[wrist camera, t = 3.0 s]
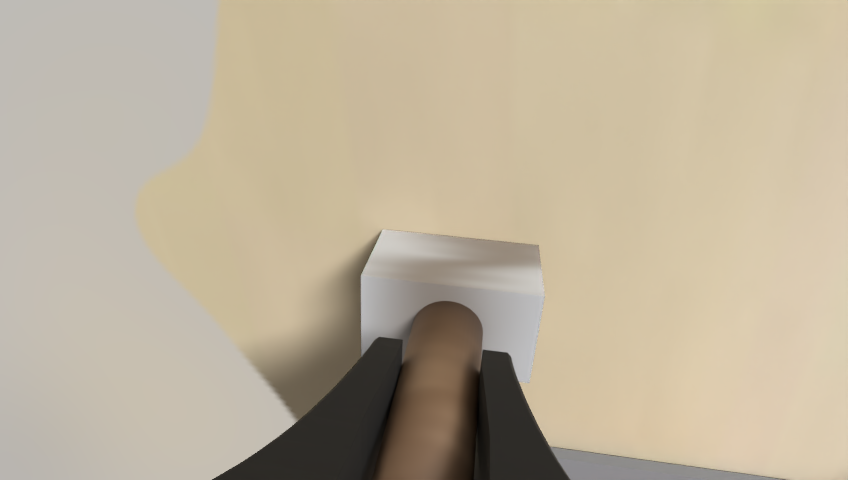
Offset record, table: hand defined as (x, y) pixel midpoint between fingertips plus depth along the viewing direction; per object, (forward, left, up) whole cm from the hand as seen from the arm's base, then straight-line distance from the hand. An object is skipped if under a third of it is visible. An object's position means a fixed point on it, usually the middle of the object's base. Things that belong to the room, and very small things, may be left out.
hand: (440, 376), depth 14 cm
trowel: (0, 0, -5) cm, 5 cm away
